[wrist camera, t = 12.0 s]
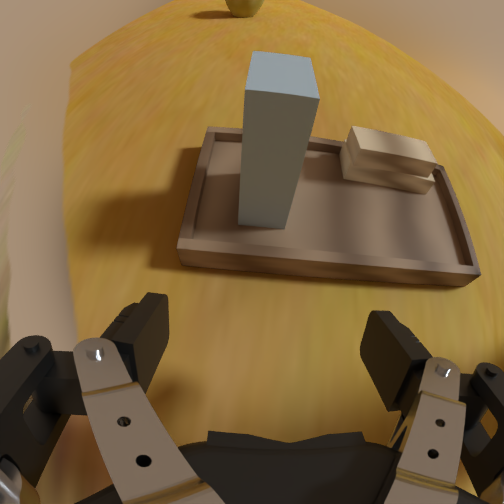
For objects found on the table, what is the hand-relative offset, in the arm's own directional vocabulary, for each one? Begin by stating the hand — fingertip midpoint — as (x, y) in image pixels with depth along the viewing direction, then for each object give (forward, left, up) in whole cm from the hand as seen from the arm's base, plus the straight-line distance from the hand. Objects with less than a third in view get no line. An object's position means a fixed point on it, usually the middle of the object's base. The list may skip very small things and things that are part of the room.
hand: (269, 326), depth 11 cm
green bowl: (+7, -74, -9) cm, 74 cm away
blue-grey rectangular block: (0, -12, -7) cm, 14 cm away
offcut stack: (-11, -17, -7) cm, 21 cm away
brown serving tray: (-7, -13, -8) cm, 17 cm away
